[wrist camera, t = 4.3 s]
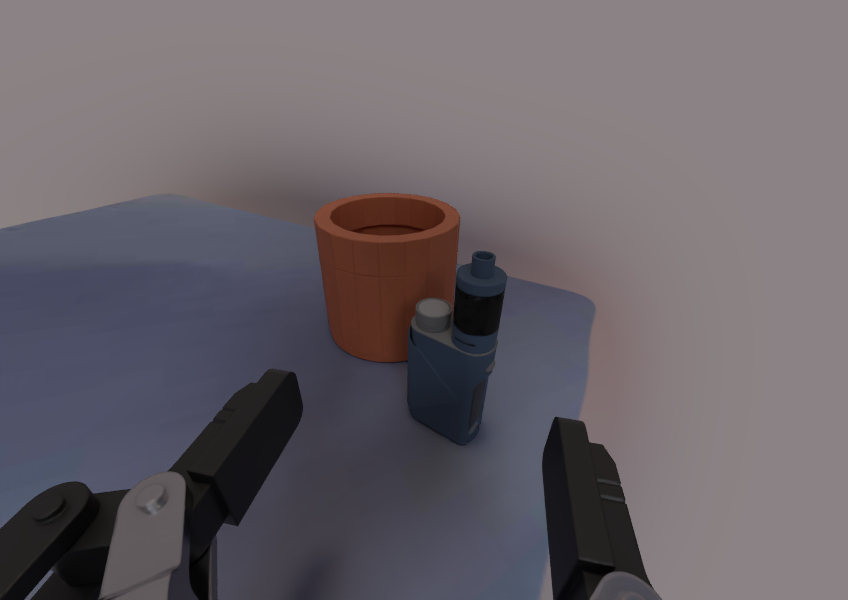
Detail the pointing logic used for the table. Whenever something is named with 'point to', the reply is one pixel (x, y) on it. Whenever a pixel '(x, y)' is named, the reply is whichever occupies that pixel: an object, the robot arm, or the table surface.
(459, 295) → the vaping device
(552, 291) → the table surface
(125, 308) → the table surface
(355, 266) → the terracotta planter pot
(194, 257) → the table surface
